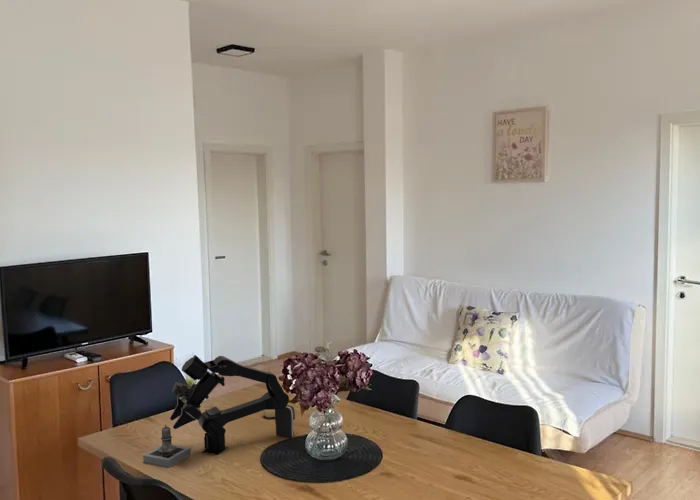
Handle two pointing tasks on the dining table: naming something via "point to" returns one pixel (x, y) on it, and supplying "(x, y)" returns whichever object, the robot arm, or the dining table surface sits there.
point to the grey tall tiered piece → (166, 443)
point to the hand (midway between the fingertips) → (172, 423)
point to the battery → (285, 421)
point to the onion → (269, 413)
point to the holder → (155, 458)
